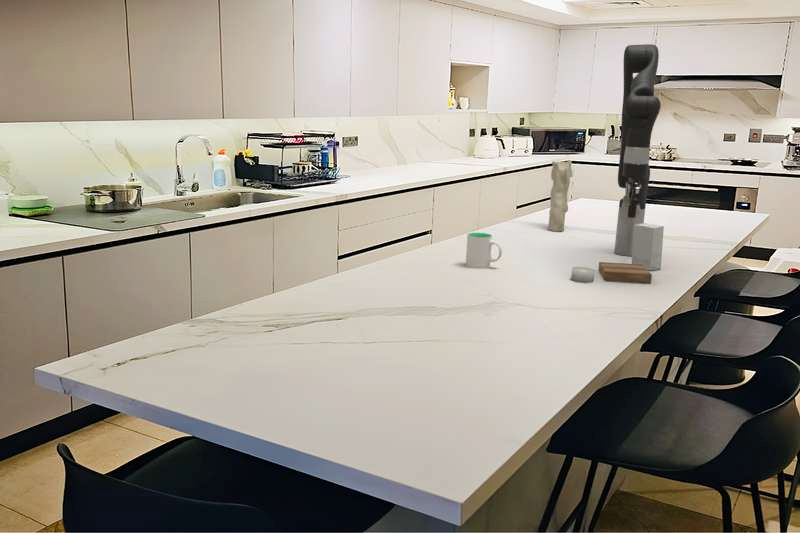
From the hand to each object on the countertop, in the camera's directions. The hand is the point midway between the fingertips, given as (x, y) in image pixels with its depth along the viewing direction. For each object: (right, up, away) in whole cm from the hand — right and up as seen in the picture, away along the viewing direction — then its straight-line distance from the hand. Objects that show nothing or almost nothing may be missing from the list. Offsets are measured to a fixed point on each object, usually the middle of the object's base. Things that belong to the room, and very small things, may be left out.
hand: (630, 216), depth 233 cm
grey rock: (0, -3, +1) cm, 3 cm away
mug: (-45, -16, +13) cm, 49 cm away
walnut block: (-1, -19, +5) cm, 20 cm away
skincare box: (+11, -17, +19) cm, 27 cm away
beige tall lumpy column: (-6, -1, +82) cm, 83 cm away
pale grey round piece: (-15, -20, -1) cm, 25 cm away
